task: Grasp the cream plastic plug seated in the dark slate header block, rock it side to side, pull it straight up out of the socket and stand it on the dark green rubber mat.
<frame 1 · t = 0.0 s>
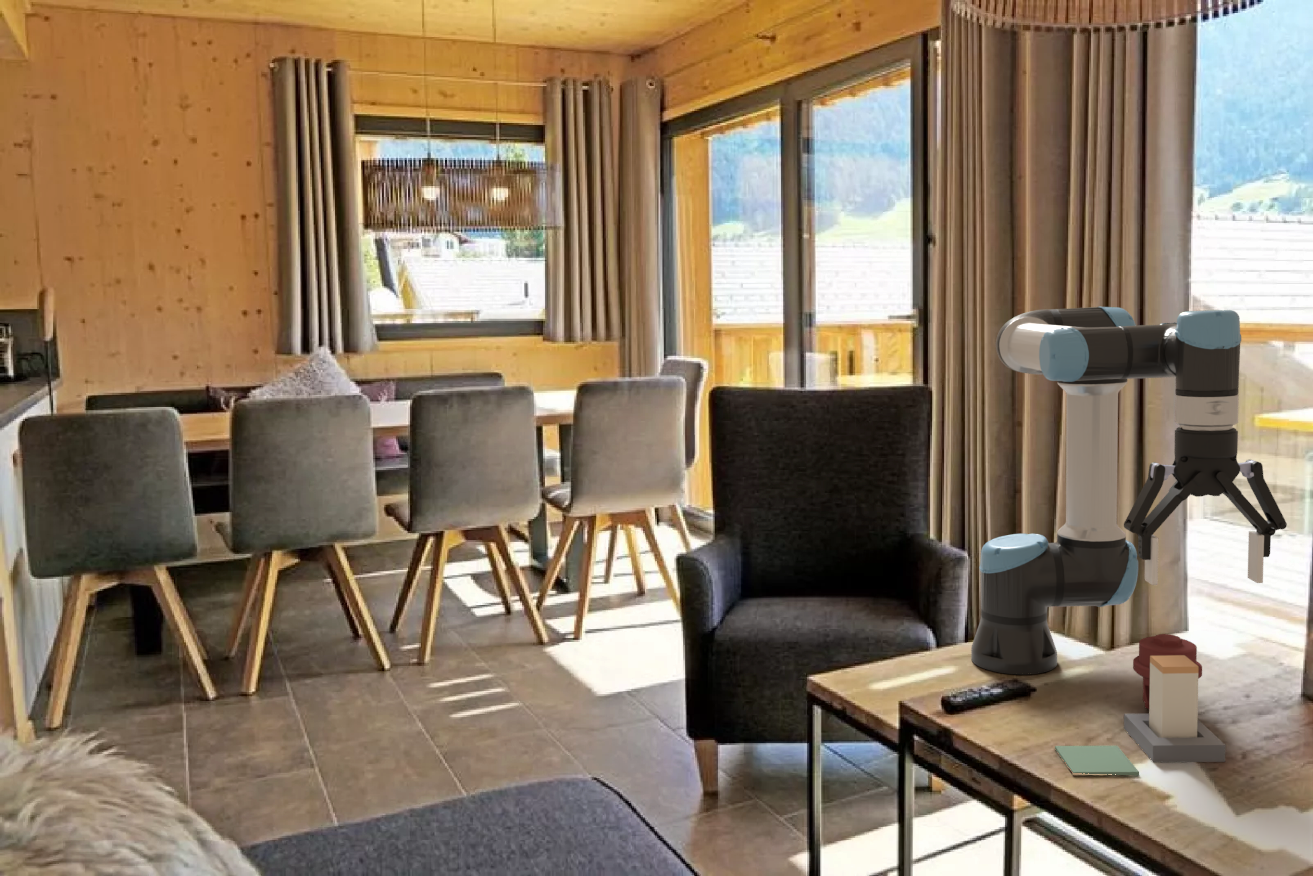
hand: (1202, 581, 146), 28 cm above the table, fingers open, 13 cm apart
plug: (1172, 745, 160), resting in header
mechanical component: (1166, 712, 173), on the table
header: (1172, 744, 160), on the table
mat: (1095, 762, 155), on the table
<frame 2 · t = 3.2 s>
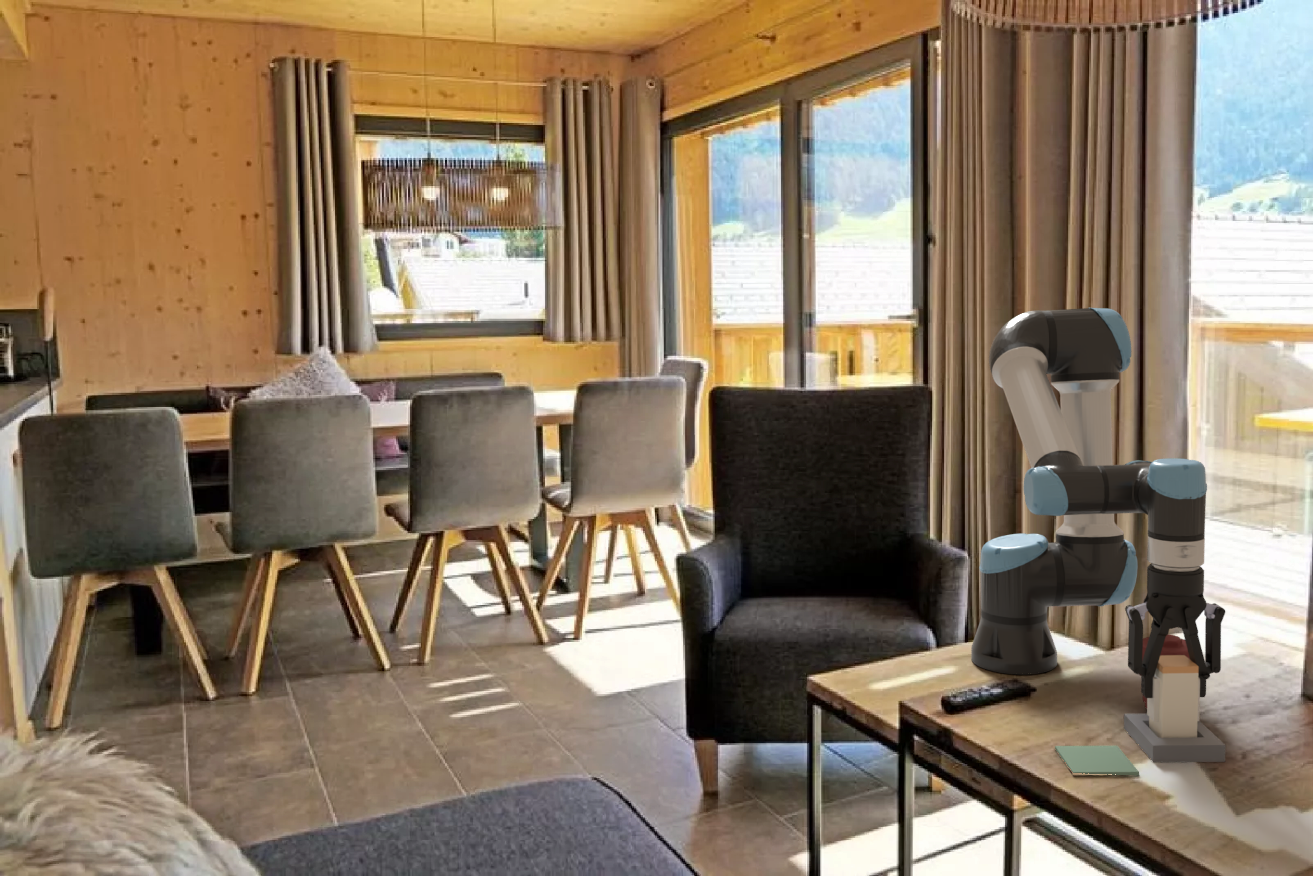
hand: (1172, 717, 160), 4 cm above the table, fingers closed on plug, 5 cm apart
plug: (1172, 745, 160), resting in header, touching gripper
everything else where it was.
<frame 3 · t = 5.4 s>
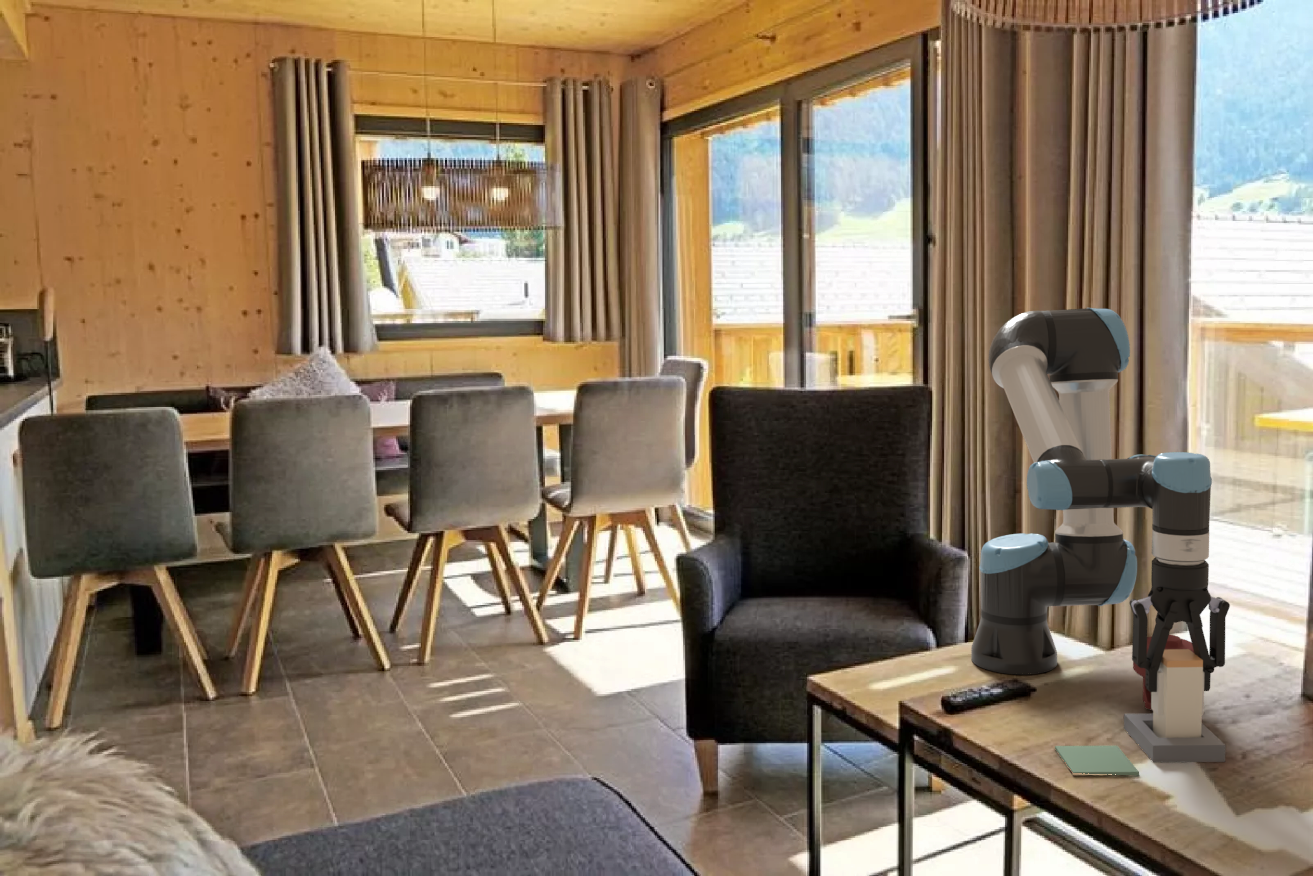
hand: (1177, 711, 160), 5 cm above the table, fingers closed on plug, 5 cm apart
plug: (1176, 739, 160), point 1 cm above the table, touching gripper
everything else where it was.
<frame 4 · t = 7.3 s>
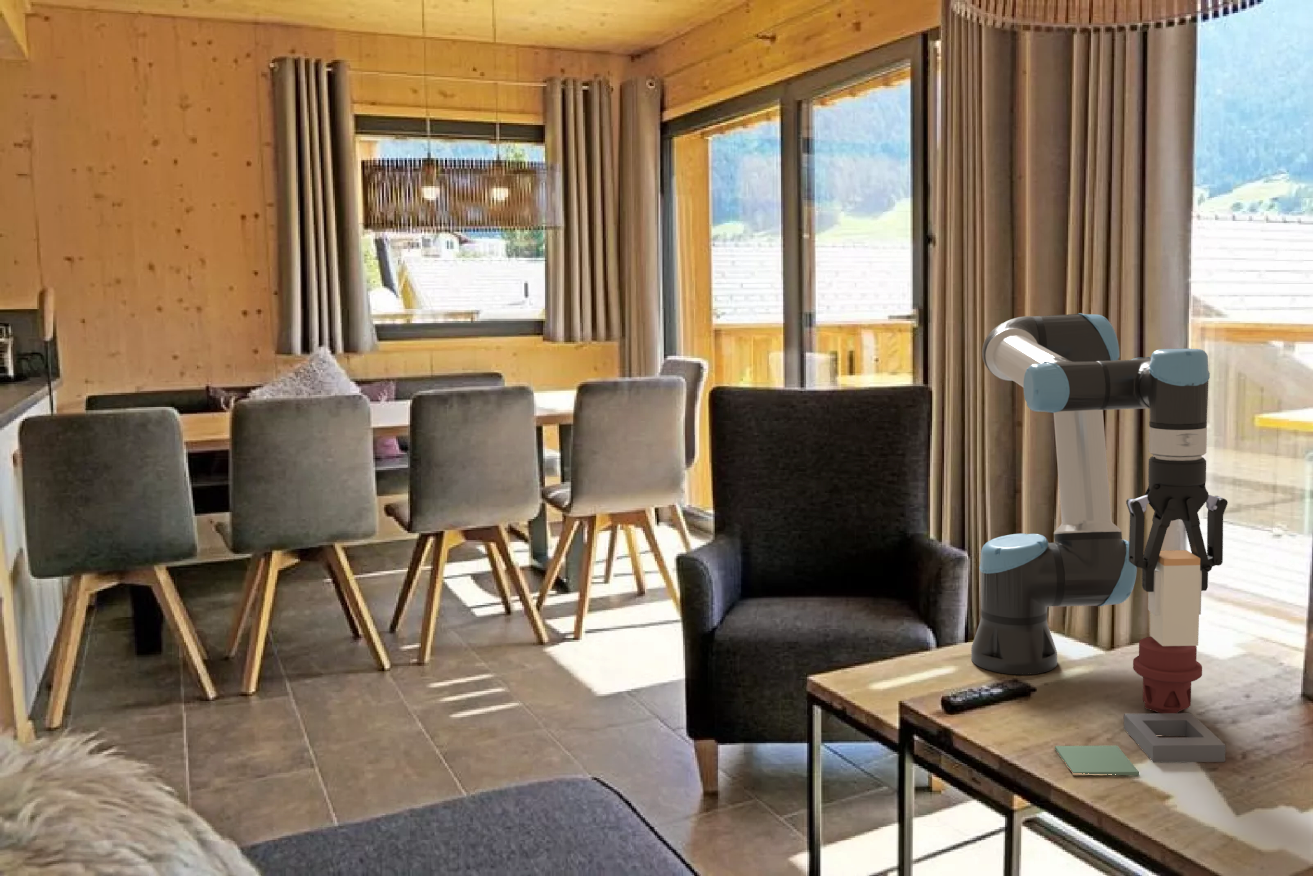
hand: (1174, 612, 158), 20 cm above the table, fingers closed on plug, 5 cm apart
plug: (1173, 640, 158), point 16 cm above the table, touching gripper
everything else where it was.
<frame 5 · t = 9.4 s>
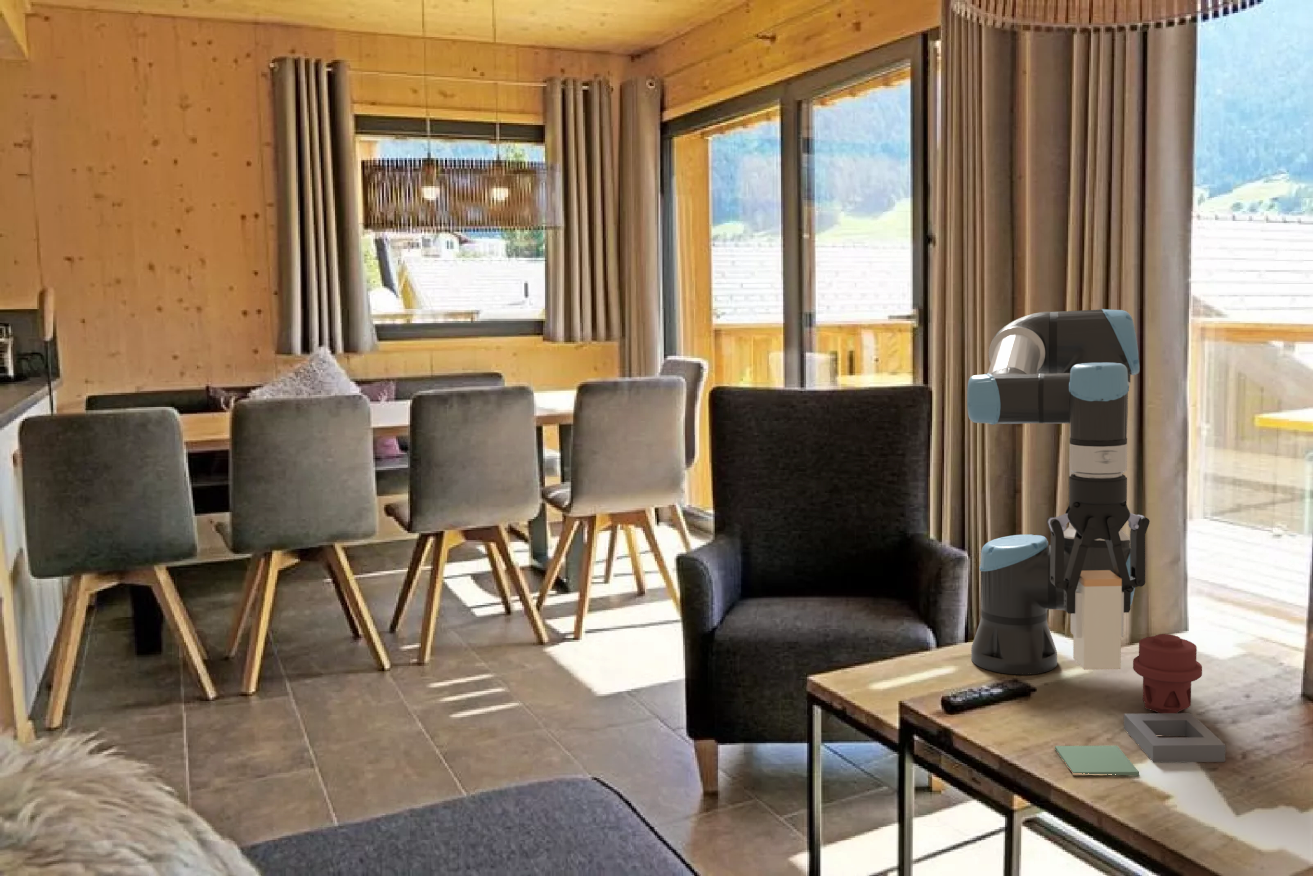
hand: (1096, 634, 153), 19 cm above the table, fingers closed on plug, 5 cm apart
plug: (1096, 663, 153), point 15 cm above the table, touching gripper
everything else where it was.
when the fingers open (7 cm above the table, at t = 11.4 s): plug drops 2 cm, resting on mat.
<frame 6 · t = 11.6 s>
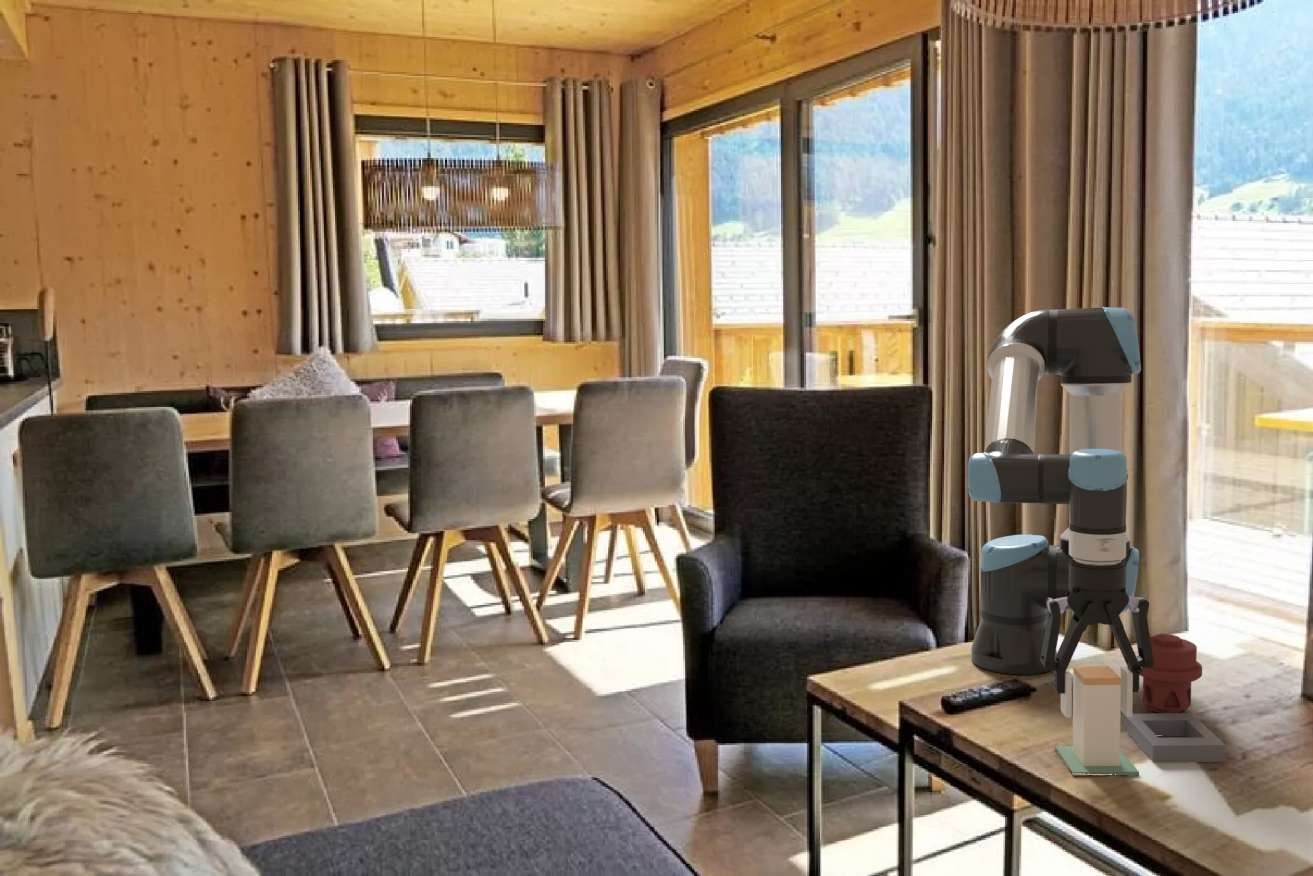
hand: (1096, 713, 154), 7 cm above the table, fingers open, 8 cm apart
plug: (1095, 758, 155), point 1 cm above the table, touching mat
everything else where it was.
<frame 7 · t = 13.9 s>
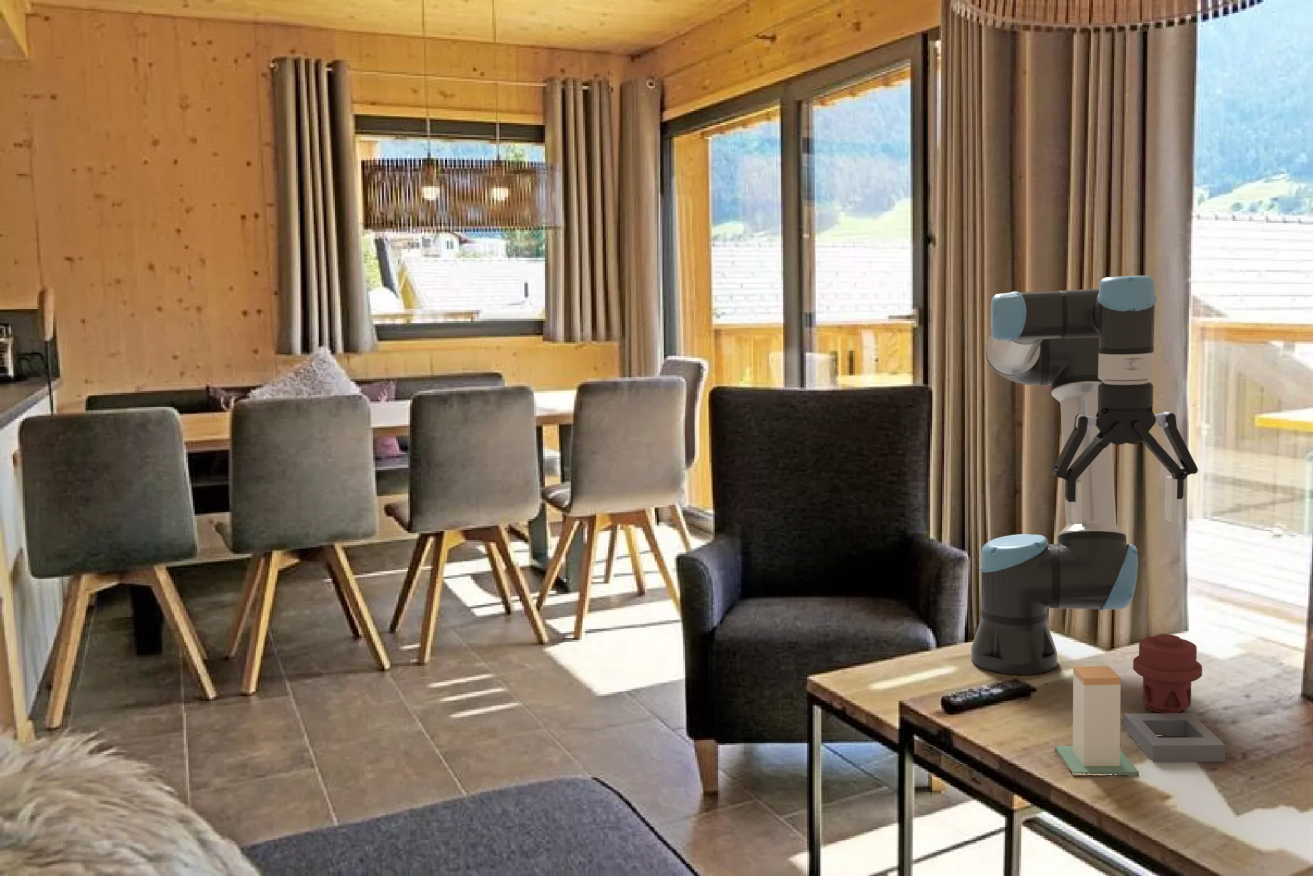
hand: (1123, 521, 162), 33 cm above the table, fingers open, 13 cm apart
nothing on the table moved.
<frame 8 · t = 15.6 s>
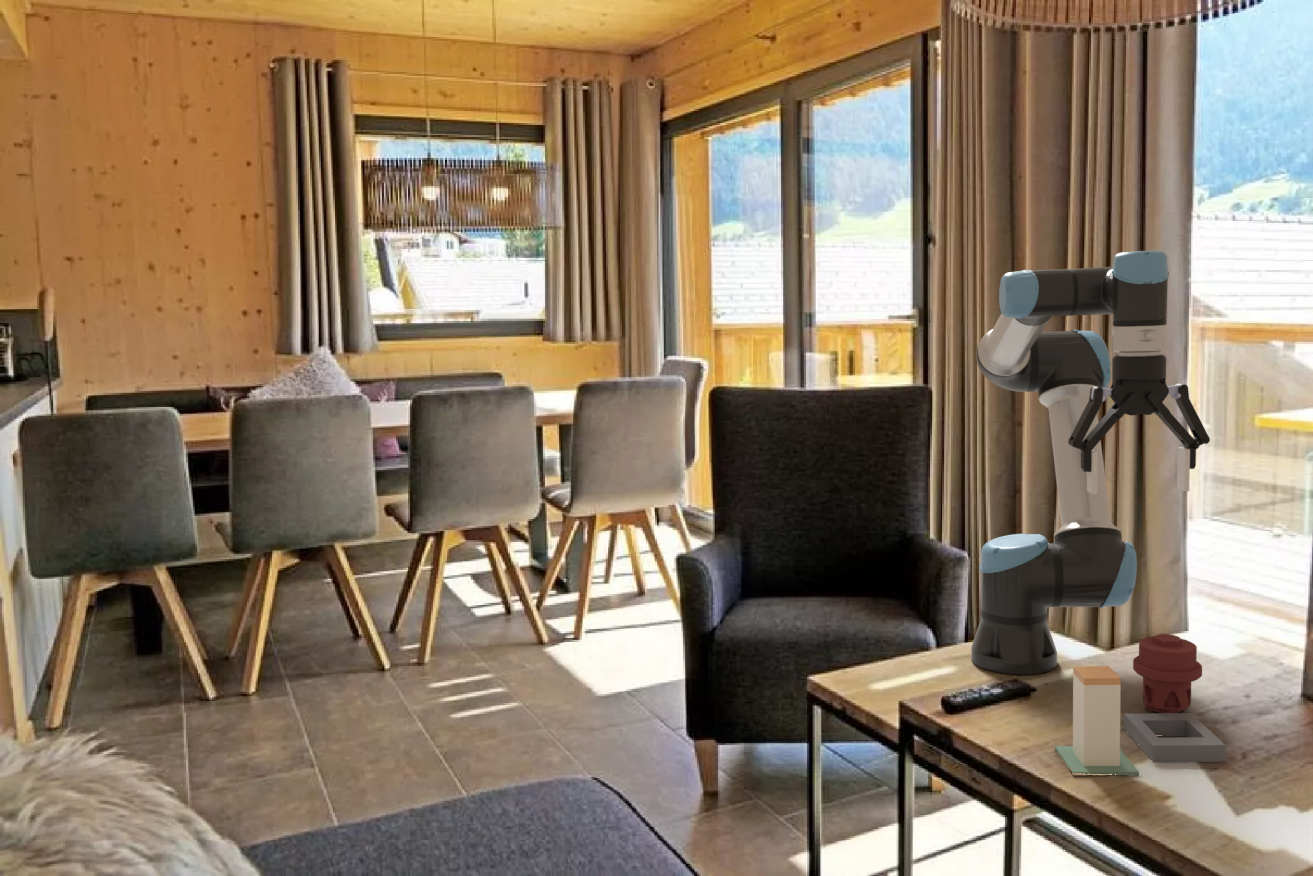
hand: (1137, 491, 166), 37 cm above the table, fingers open, 13 cm apart
nothing on the table moved.
at the end: plug inside the target area on the mat (0.0 cm from its centre), point 0.6 cm above the mat's base; plug tilted 0°; the gripper is holding nothing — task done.
